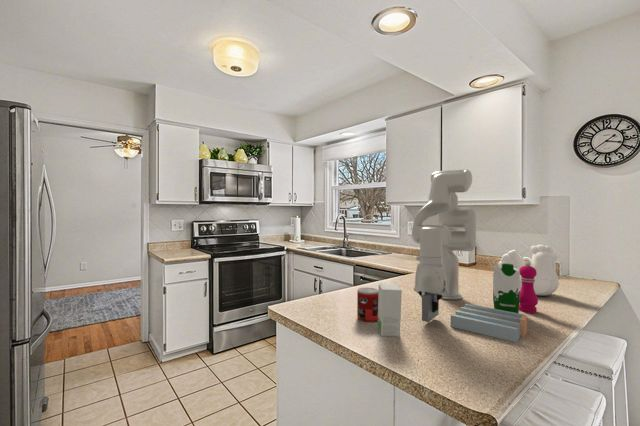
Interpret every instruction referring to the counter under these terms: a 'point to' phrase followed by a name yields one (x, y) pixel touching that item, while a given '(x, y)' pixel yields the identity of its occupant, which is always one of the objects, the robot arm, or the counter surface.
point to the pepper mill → (528, 289)
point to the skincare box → (389, 309)
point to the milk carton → (506, 288)
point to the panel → (428, 307)
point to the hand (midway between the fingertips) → (430, 310)
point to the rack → (490, 322)
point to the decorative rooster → (537, 267)
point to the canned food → (367, 304)
